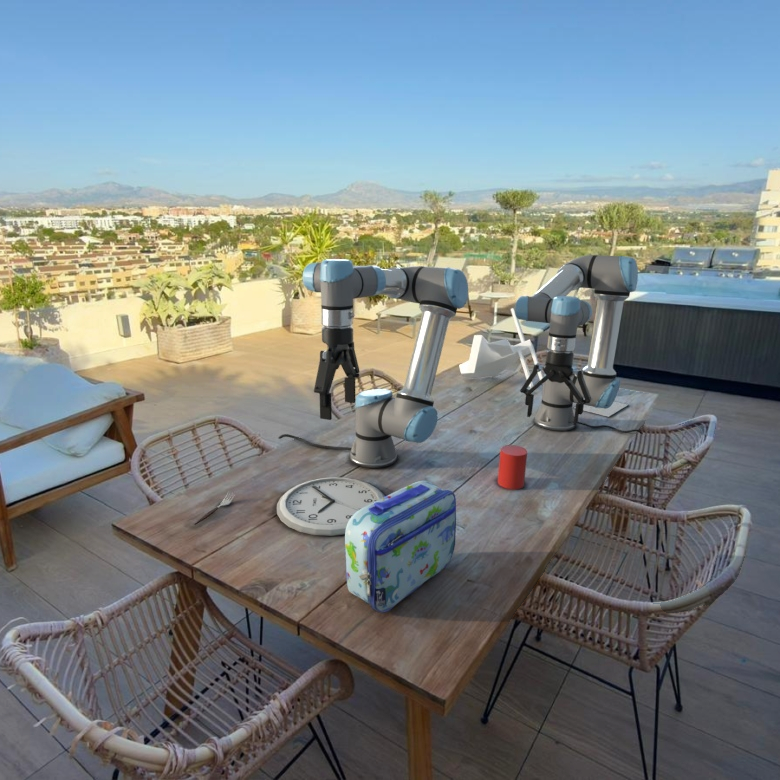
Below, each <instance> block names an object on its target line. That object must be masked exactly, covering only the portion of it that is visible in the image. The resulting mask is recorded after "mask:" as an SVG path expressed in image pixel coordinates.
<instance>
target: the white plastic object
mask: <svg viewBox="0 0 780 780" xmlns="http://www.w3.org/2000/svg"><path fill="white" fill-rule="evenodd" d="M510 312H511V316H512V319H513V321H514V325H515V328H516V330H517V334H518V337H519V340H520V342H519V343H517V344H515V345H513V344H511V342H510V341H509V340H508V338H504V339H500V340H495V341H491V342H490V341H488V340H487V338H485V337H484V335H482V334H474V335H473V340H472V342H471V343H472V344H471V348H470V353H469V358H468V360H467V361H465V362H463V363H460V364H459V365H458V367H459V371H460V374H461V376H462V377H463V379H464V380H469V379H479V378H487V377H491V378H492V379H493V378H496V377H498V376H501V375H502V374H501V373H502V372H503V371H505V370H506V369H508V368H509V367H510V366H512V365H514V364H515V363H517V362H518V361H519V360H520V363H521V366H522V369H523V373H524V375H525V379H526V380H527V379H528V378H529V376H530V375H531V373H530V370H529V367H528V363H527V361H526V358H525V356H527V355H531V357H532V360H533V364H534V365H535V364H537V363H539V364H540V362H539V359H538V356H537V353H536V350H535V347H534V343H532V341H531V339H530V338H529V339H527V340H526V338H525V335H524V332H523V329H522V327H521V322H520V321H519V320H520V319H518V318H517V317H516V315H515V308H514V307H512V308H510ZM537 375H538V379H539V381H540V380H541V379H542V378H543V377H544V373H543V370H541V371H540V372H538V373H537ZM534 385H535V384H534V382H533V381H532V382H531V383H530V385H529V386H528V387H529V389H531V388H532V387H533V386H534ZM541 386H542V387H543V384H542V385H541Z"/></svg>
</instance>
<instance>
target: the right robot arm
mask: <svg viewBox="0 0 780 780" xmlns="http://www.w3.org/2000/svg"><path fill="white" fill-rule="evenodd" d="M638 268H639V267H638V263H637V261H636V259H635V258H634V257H631V256H625V255H602V254H601V255H599V254H587V255H583V256H579V257H577V258H574V259H571V260H569V261H568V262H566V263H565V264H563V265H562V266H560V268H559V269H558V270H557V272H556V275H555V276H553V277H552V278H551V279H550V280H549V281H548V282H546V283H545V284H544V285H542V287H541V288H540V289H538V290H537V291H536V292H535V293H534V294H533V295H532V296H529V295H526V296H524V295H522V296H519V297H518V298H517V299H516V302H515V305H514V310H515V315H516V317H517V318H518V320H521V321H526V322H533V323H534V322H535V323H541V324H542V323H544V324H549V330H548V337H547V347H546V348H547V349H548V350H546V355H545V364H544V365H542V364H540V362H539V363H537V364H534V365H533V367H532V371H531V373H530V376H529V378H528V379H526V380H525V382H524V383H523V385H522V387H520V390H519V392H520V393H522V394H524V395H525V401H524V404H525V406H527V416H526V417H527V418H530V417H531V416H532V415H533V407H534V398H535V394H533V393H535V391H537V389H539V387H541V386H542V384H543V386H542V394H541V402H540V405H539V407H538V410H537V411H536V413H535V416H534V424H535V425H536V426H537V427H539V428H542V429H544V430H549V431H556V432H567V431H572V430H574V429H575V428H576V426H577V425H581V426H584V427H587V428H590V429H591V428H592V429H600V428H607V429H611V430H613V431H616V432H618V433H622V434H628V433H629V434H630V433H634V432H637V433H639V434H640V435H643V434H644V433H643V432H642V431H641V430H640V429H636V428H635V429H629V430H622V429H619V428H616V427H614V426H611V425H607V424H602V425H601V424H600V425H590V424H587V423H585V422H581V421H579V415H581V416H582V415H583V413H584V410H583V408H584V405H588V406H592V407H595V408H604V409H607V408H609V407H610V406H611V405H612V404H613V402H615V400H616V398H617V396H618V393H619V389H620V385H621V380H620V379H619V378H617V372H616V370H615V369H614V363H615V356H616V352H617V351H616V350H617V344H618V338H619V332H620V327H621V326H620V325H621V320H622V314H623V308H624V302H625V301H626V300H627V299H629V298H630V295H631V293H633V292H636V290H637V285H638V281H639V279H638V278H639V270H638ZM577 289H591V290H592V289H594V291H593V295H594V296H595V298H597V299H596V300H597V301H596V302H597V303H596V308H595V314H594V321H593V328H592V336H591V341H590V347H589V354H588V360H587V364H586V366H584V367H583V368H580V369H578V368H577V366H573V363H574V356H575V353H574V351H575V348H576V341H577V334H578V333H577V332H578V327H581V326H583V325H586V323H588V322H589V321H590V320H591V318H592V315H593V309H592V306H591V305H590V303H589V302H588V301H586V300H583V299H580V298H579V297H578V296H571V295H570V296H569V294H571V292H573V291H576V290H577ZM541 370H542V372H544V373H543V376H544V377H543V378H542V379H541V380H540V379H539V380H538V381H537V382H536V383H535V384H533V385H534V386H533V387H532V388H529V389H528V387H530V386H529V385H530V383H531V382H533V380H534V379H535V377H536V376H537V375H538V372H540V371H541ZM574 404H575V407H576V408H574V407H573V405H574ZM574 409H575V410H574Z"/></svg>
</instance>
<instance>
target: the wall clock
mask: <svg viewBox="0 0 780 780" xmlns="http://www.w3.org/2000/svg"><path fill="white" fill-rule="evenodd" d="M384 497H386V495H385V494H384V493H383V492H382V491H381V490H380V489H379V488H377V487H376V486H374V485H372V484H371V483H369V482H365V481H362V480H359V479H355V478H349V477H338V476H337V477H335V476H333V477H332V476H331V477H322V478H317V479H312V480H307V481H305V482H302V483H299V484H297V485H295V486H293V487H292V488H290V489H288V490H287V491H286V492H285V493H284V494H283V495H281V496H280V498H279V499H278V502H277V503H276V515H277V517H278V518H279V520H280V521H281V522H282V523H283V524H285V525H286V526H287V527H288V528H290V529H293V530H295V531H297V532H299V533H303V534H308V535H312V536H327V537H328V536H329V537H331V536H332V537H333V536H342V535H345V531H346V527H347V524H348V522H349V520H350V518H351V517H352V515H353V514H354V513H355V512H357V511H358V510H360V509H362V508H364V507H366V506H368V505H370V504H372V503H374V502H376V501H378V500H380V499H382V498H384Z"/></svg>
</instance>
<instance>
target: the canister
mask: <svg viewBox="0 0 780 780" xmlns="http://www.w3.org/2000/svg"><path fill="white" fill-rule="evenodd" d="M527 459H528V450H527V449H526V448H525V447H523V446H520V445H517V444H516V445H514V444H507V445H503V446H501V447H500V449H499V463H498V474H497V484H498V486H500V487H501V488H504V489H506V490H520V489H522V488H524V486H525V481H526V480H525V479H526V469H527Z"/></svg>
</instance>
